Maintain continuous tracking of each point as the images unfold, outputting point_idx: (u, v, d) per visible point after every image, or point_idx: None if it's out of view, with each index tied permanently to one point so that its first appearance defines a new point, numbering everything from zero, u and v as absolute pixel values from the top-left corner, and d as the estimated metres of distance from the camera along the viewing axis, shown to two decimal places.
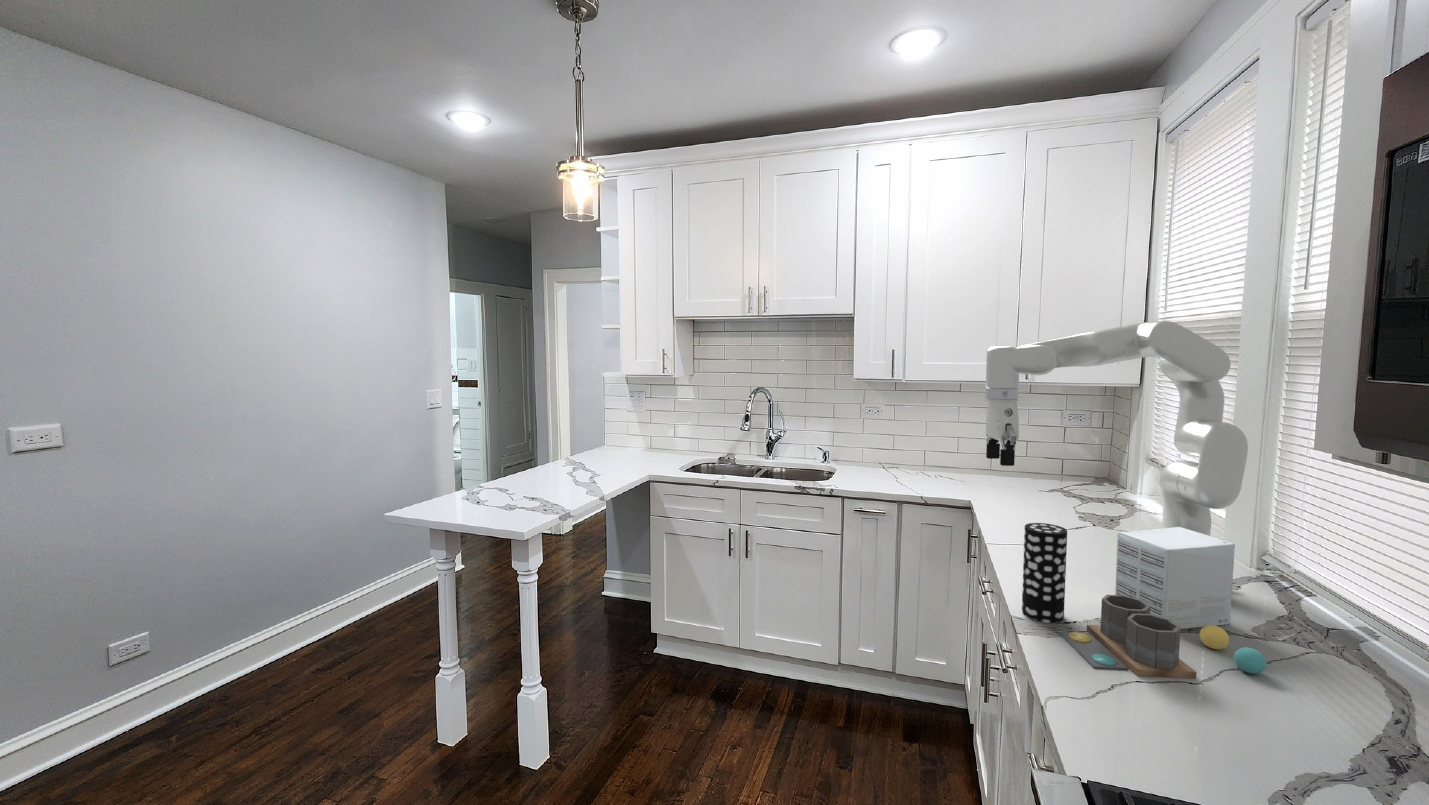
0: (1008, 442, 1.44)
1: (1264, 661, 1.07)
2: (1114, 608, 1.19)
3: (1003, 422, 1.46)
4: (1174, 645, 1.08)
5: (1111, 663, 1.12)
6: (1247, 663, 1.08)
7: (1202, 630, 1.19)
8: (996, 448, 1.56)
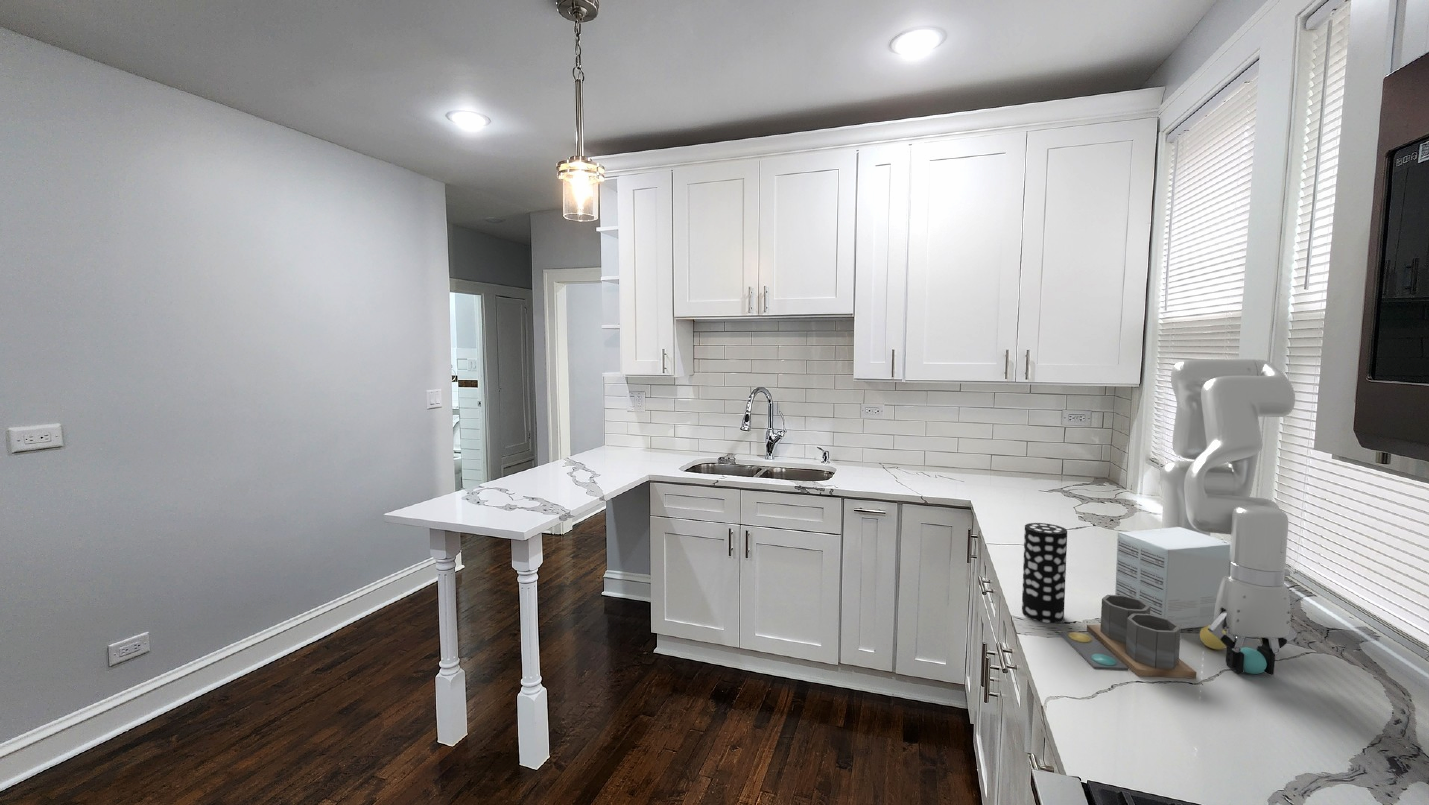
0: (1285, 641, 1.08)
1: (1264, 661, 1.07)
2: (1114, 608, 1.19)
3: None
4: (1174, 645, 1.08)
5: (1111, 663, 1.12)
6: (1247, 663, 1.08)
7: (1202, 630, 1.19)
8: None
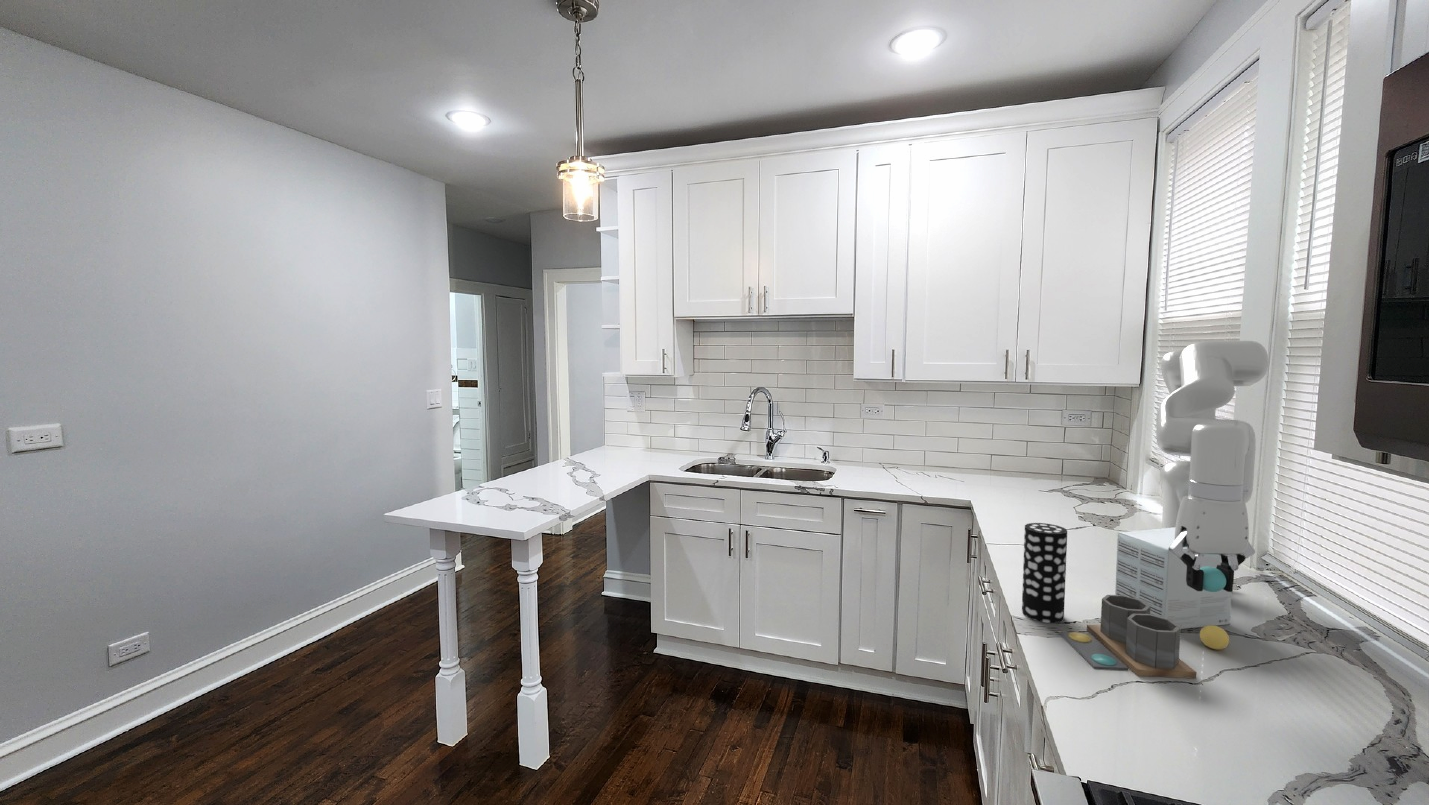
0: (1244, 558, 1.08)
1: (1224, 578, 1.07)
2: (1114, 608, 1.19)
3: None
4: (1174, 645, 1.08)
5: (1111, 663, 1.12)
6: (1207, 580, 1.08)
7: (1202, 630, 1.19)
8: None
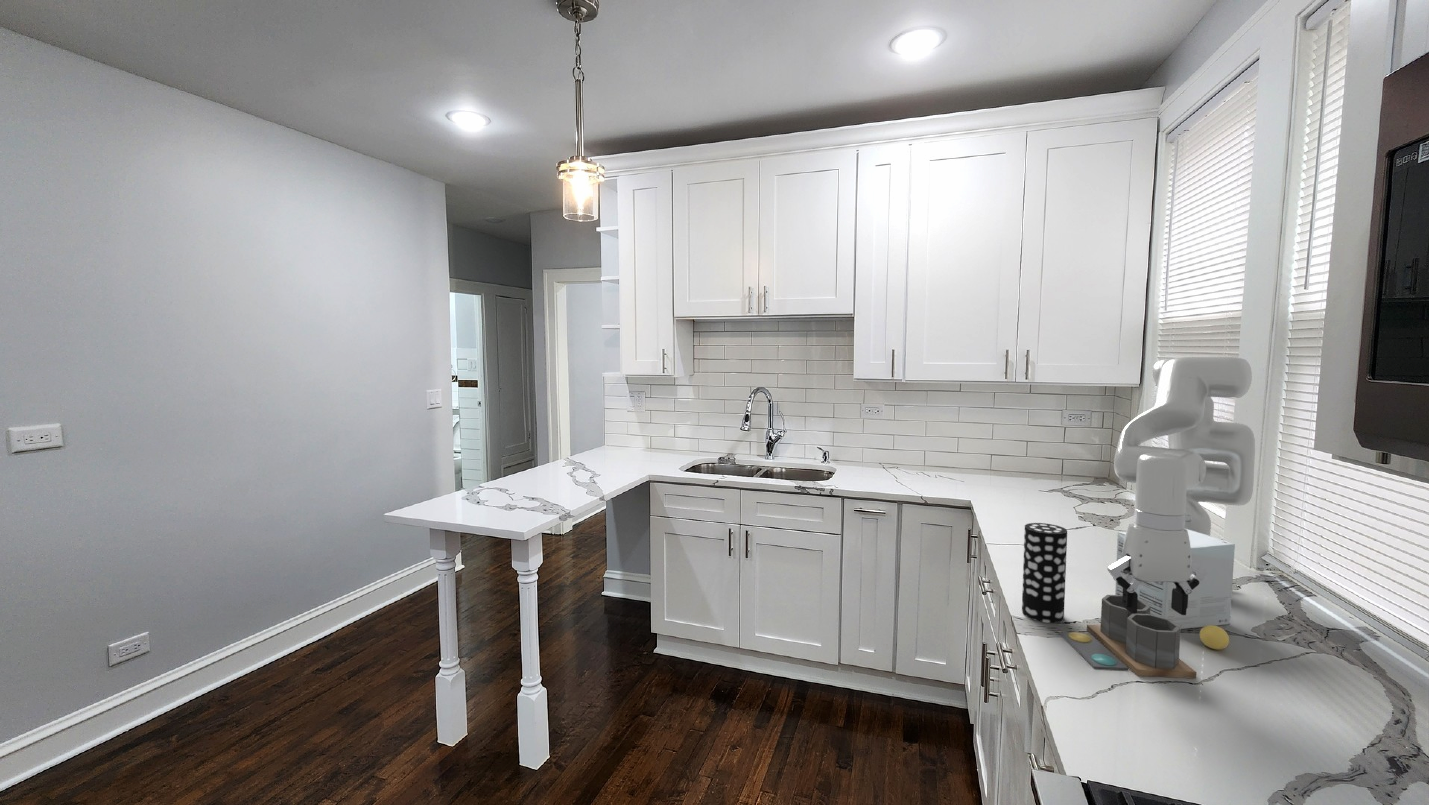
0: (1198, 582, 1.10)
1: None
2: (1114, 608, 1.19)
3: None
4: (1174, 645, 1.08)
5: (1111, 663, 1.12)
6: None
7: (1202, 630, 1.19)
8: None
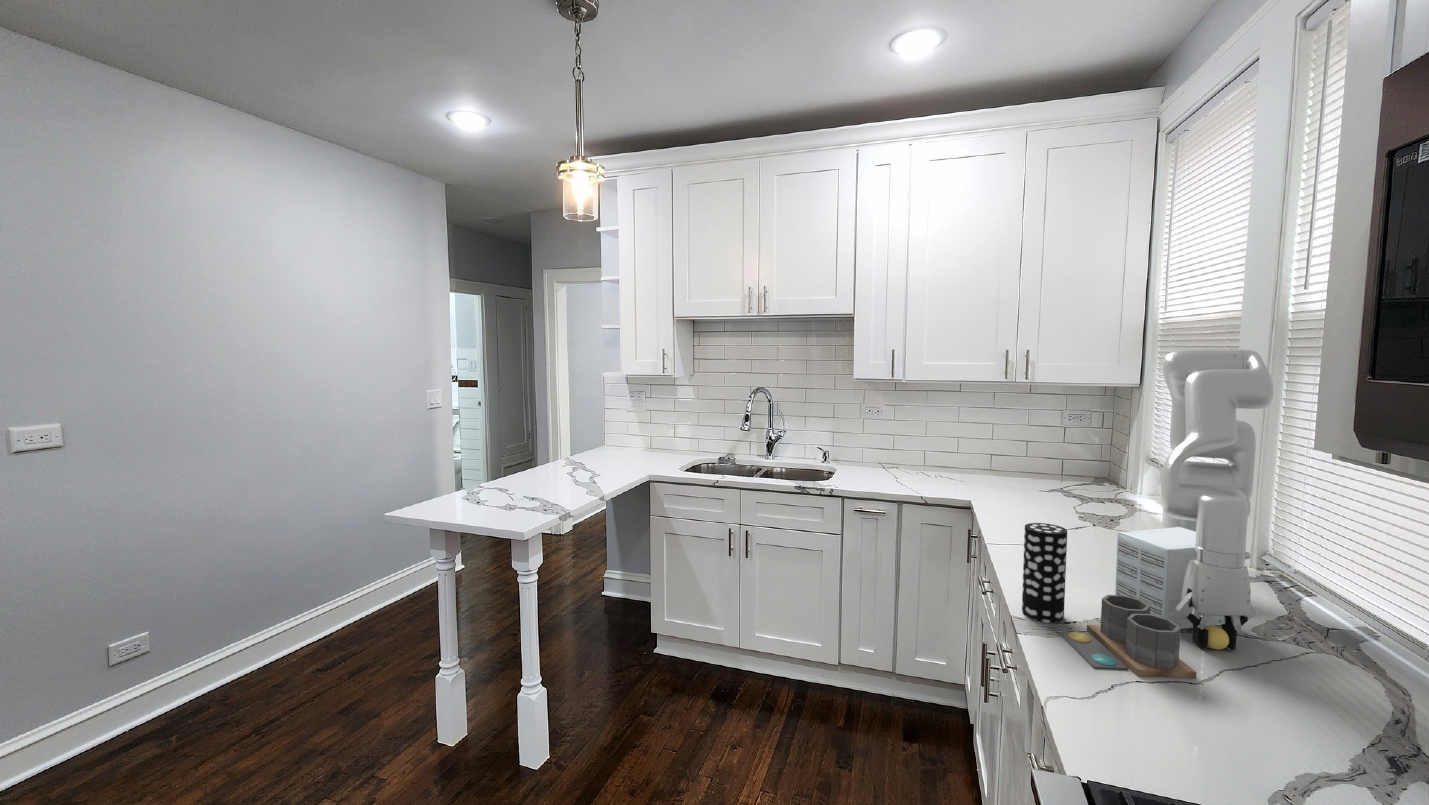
0: (1246, 619, 1.17)
1: None
2: (1114, 608, 1.19)
3: None
4: (1174, 645, 1.08)
5: (1111, 663, 1.12)
6: None
7: None
8: None
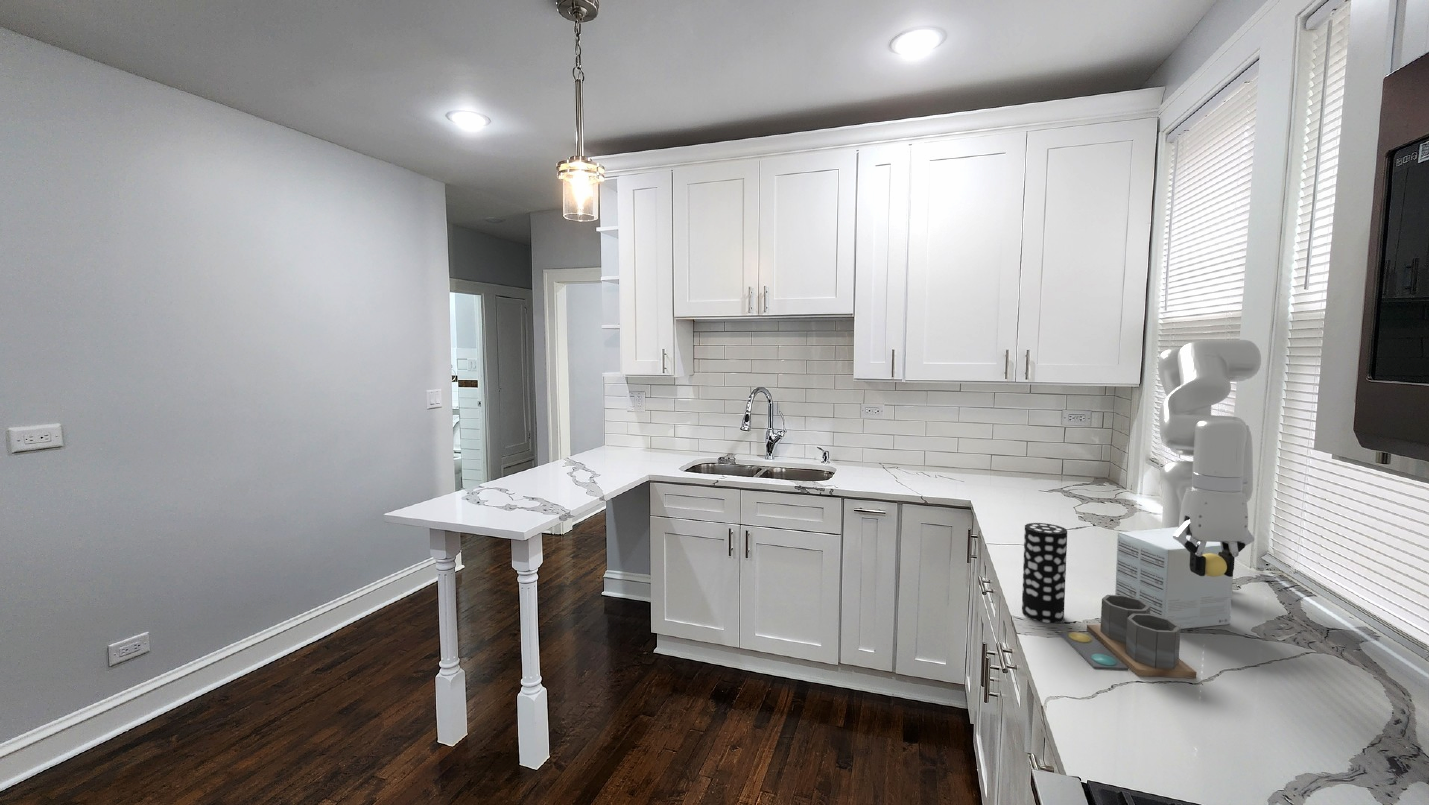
0: (1244, 545, 1.16)
1: None
2: (1114, 608, 1.19)
3: None
4: (1174, 645, 1.08)
5: (1111, 663, 1.12)
6: None
7: None
8: None
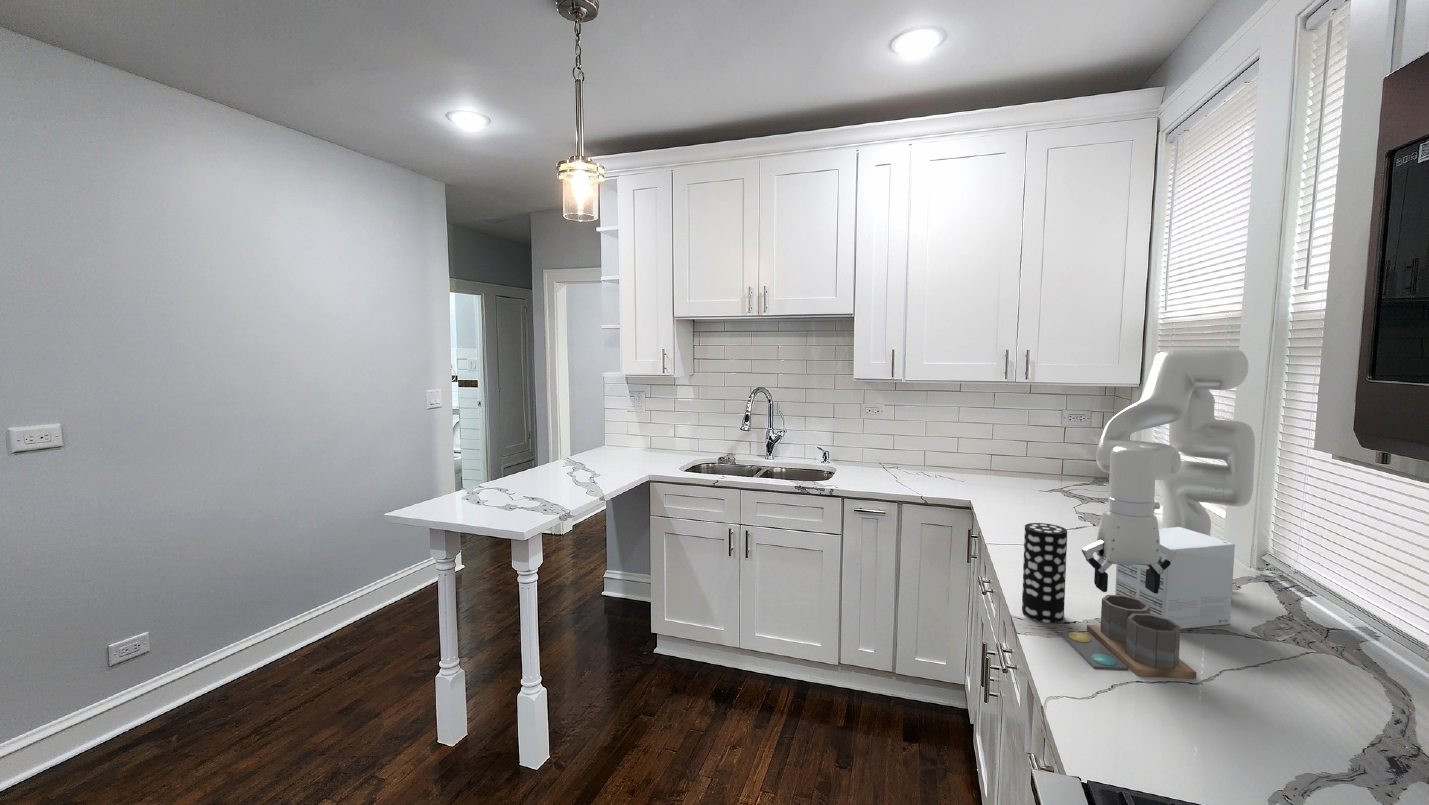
0: (1169, 563, 1.19)
1: None
2: (1114, 608, 1.19)
3: None
4: (1174, 645, 1.08)
5: (1111, 663, 1.12)
6: None
7: None
8: None
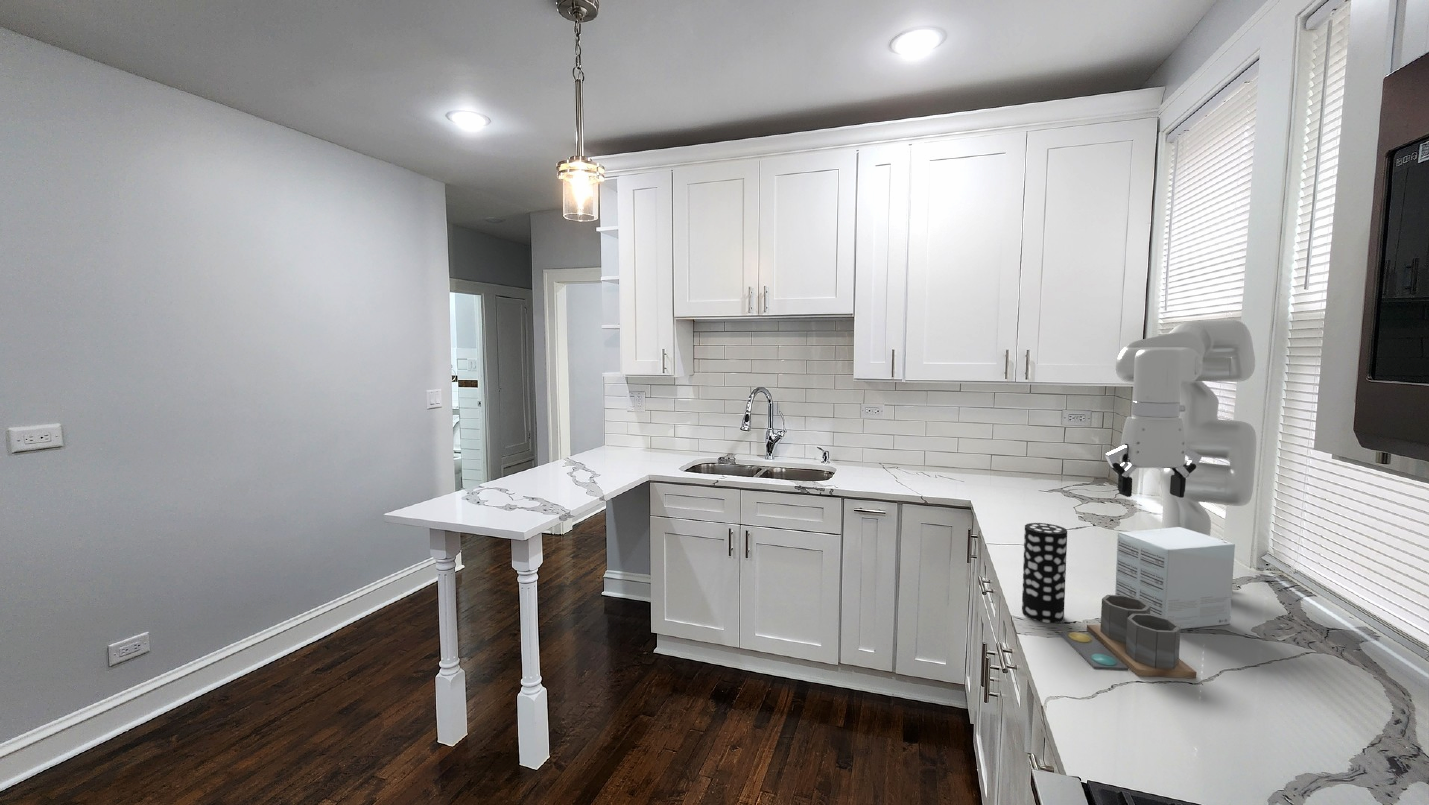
0: (1195, 466, 1.17)
1: None
2: (1114, 608, 1.19)
3: None
4: (1174, 645, 1.08)
5: (1111, 663, 1.12)
6: None
7: None
8: None
